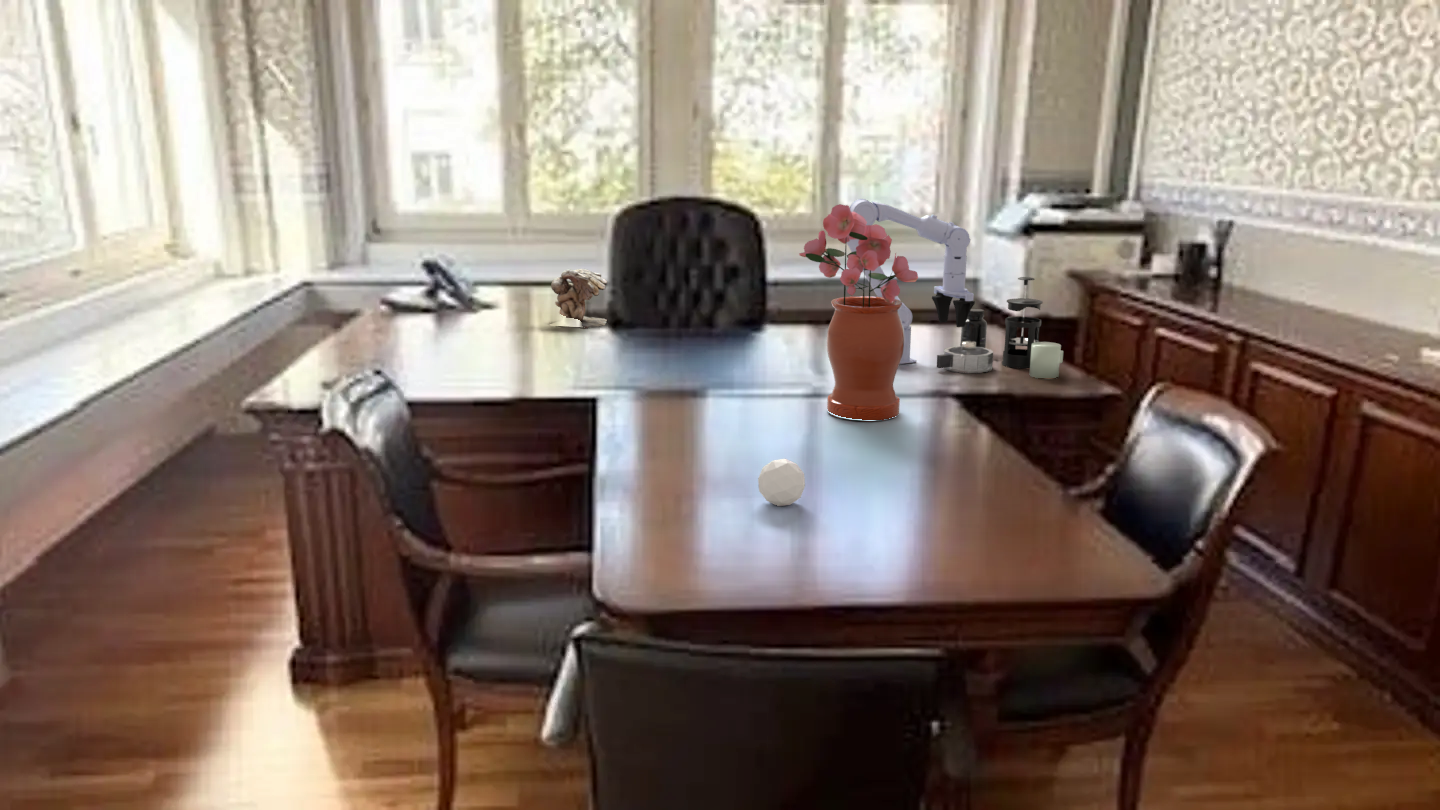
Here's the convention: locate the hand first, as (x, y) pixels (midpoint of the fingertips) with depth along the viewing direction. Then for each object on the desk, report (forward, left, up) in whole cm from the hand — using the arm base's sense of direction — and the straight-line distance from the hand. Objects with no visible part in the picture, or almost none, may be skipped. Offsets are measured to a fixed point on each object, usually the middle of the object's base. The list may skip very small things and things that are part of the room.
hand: (951, 324), depth 277 cm
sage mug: (+11, -24, -10) cm, 28 cm away
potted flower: (-49, -33, -10) cm, 60 cm away
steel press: (-3, -9, -10) cm, 14 cm away
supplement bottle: (+12, +6, -10) cm, 17 cm away
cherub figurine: (-72, +97, -10) cm, 122 cm away
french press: (+14, -11, -10) cm, 20 cm away
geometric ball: (-91, -78, -10) cm, 120 cm away
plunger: (-1, -9, -10) cm, 13 cm away
